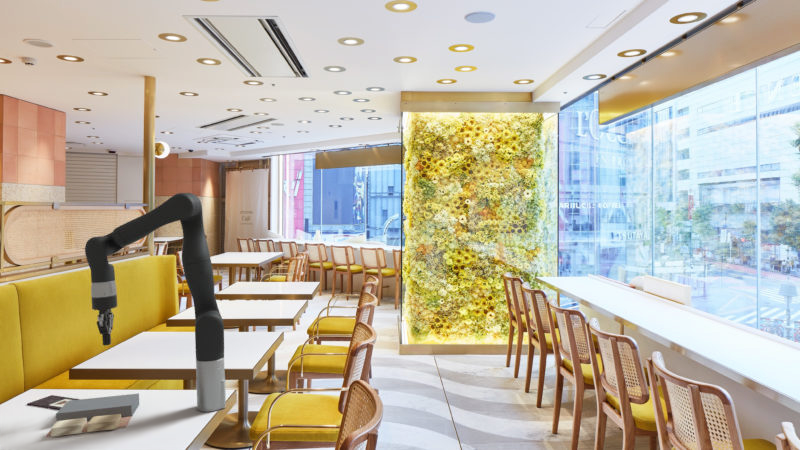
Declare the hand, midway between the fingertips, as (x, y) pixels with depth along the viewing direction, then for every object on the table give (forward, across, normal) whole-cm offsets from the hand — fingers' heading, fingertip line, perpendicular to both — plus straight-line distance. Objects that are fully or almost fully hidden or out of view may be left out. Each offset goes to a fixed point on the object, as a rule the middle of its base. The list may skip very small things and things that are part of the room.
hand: (107, 344), depth 176 cm
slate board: (+23, -2, +3) cm, 23 cm away
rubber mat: (+23, -12, +3) cm, 26 cm away
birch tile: (+21, -15, +8) cm, 27 cm away
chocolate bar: (+23, +16, +21) cm, 35 cm away
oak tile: (+21, -15, -2) cm, 26 cm away
